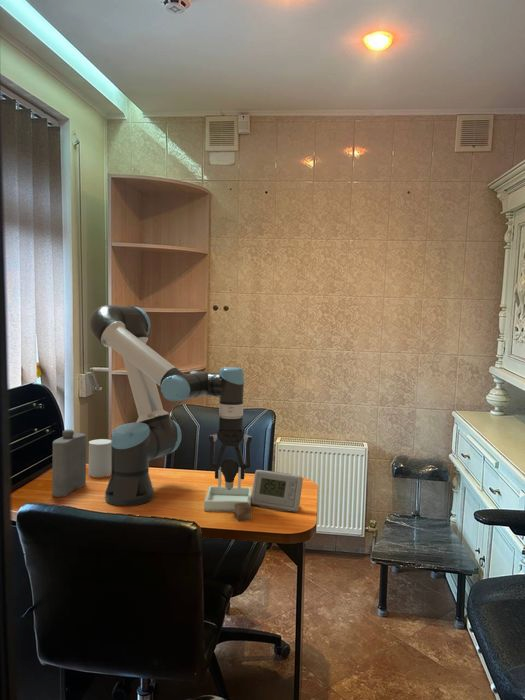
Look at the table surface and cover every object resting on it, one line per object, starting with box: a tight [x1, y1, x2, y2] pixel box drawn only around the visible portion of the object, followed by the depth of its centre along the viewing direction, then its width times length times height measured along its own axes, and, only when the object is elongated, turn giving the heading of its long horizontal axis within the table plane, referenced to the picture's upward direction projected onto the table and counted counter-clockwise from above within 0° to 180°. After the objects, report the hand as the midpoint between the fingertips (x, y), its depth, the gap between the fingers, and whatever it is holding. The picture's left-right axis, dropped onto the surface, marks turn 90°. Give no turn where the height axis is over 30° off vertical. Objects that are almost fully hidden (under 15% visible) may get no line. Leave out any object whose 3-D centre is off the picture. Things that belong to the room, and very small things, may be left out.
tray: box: [203, 485, 252, 513], centre depth 165 cm, size 14×14×3 cm
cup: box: [88, 438, 112, 478], centre depth 191 cm, size 8×8×12 cm
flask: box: [51, 429, 87, 498], centre depth 173 cm, size 15×6×20 cm, turn 167°
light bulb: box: [220, 458, 240, 490], centre depth 165 cm, size 6×6×10 cm
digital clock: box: [251, 469, 304, 513], centre depth 164 cm, size 16×9×11 cm, turn 57°
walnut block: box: [233, 503, 253, 523], centre depth 153 cm, size 4×4×4 cm
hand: (229, 488), depth 165 cm, fingers closed on light bulb, 5 cm apart
